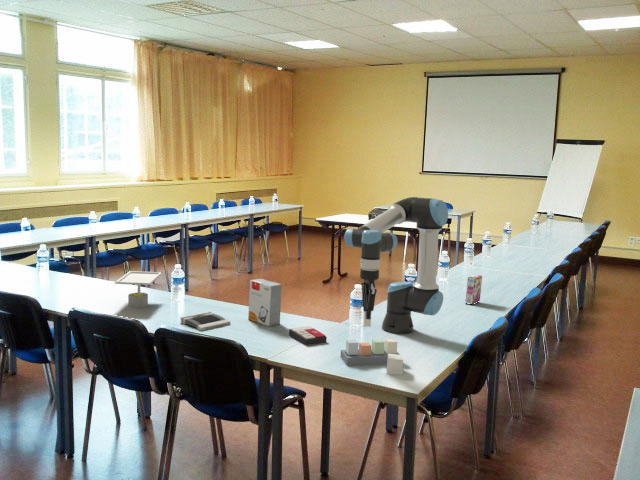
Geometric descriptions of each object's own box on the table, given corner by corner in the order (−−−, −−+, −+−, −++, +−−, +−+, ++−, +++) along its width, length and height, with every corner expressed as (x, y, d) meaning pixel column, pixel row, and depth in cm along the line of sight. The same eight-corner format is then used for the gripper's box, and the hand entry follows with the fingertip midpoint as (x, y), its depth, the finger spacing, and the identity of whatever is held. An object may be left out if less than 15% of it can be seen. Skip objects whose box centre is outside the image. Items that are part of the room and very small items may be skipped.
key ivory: (393, 350, 250) (394, 338, 249) (396, 353, 246) (397, 341, 245) (384, 350, 249) (385, 339, 248) (387, 354, 245) (388, 342, 245)
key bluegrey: (355, 351, 246) (355, 339, 246) (357, 354, 243) (358, 342, 242) (345, 351, 246) (346, 339, 245) (348, 355, 242) (348, 343, 241)
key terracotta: (367, 354, 248) (368, 342, 247) (370, 357, 244) (371, 345, 243) (358, 354, 247) (359, 342, 246) (361, 357, 243) (361, 345, 242)
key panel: (393, 355, 254) (393, 348, 253) (401, 363, 244) (402, 356, 244) (340, 356, 249) (340, 349, 248) (346, 365, 239) (347, 358, 239)
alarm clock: (209, 311, 298) (230, 315, 287) (210, 320, 298) (231, 325, 287) (180, 317, 285) (201, 322, 274) (180, 326, 285) (201, 332, 274)
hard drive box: (247, 319, 297) (248, 280, 294) (259, 317, 302) (260, 278, 300) (268, 326, 286) (270, 285, 284) (280, 324, 292) (282, 283, 289)
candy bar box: (473, 305, 348) (475, 277, 346) (464, 304, 351) (467, 276, 348) (480, 302, 357) (482, 275, 355) (472, 301, 360) (474, 274, 358)
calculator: (306, 338, 261) (289, 327, 273) (305, 347, 262) (288, 336, 274) (327, 335, 267) (309, 324, 279) (326, 344, 267) (309, 333, 280)
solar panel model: (149, 312, 301) (149, 283, 298) (114, 311, 300) (114, 281, 298) (161, 299, 328) (161, 272, 326) (129, 298, 327) (129, 270, 325)
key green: (380, 350, 249) (381, 339, 248) (383, 354, 245) (384, 342, 244) (371, 351, 248) (372, 339, 247) (374, 354, 244) (375, 342, 243)
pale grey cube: (402, 375, 232) (403, 360, 231) (386, 373, 233) (387, 358, 232) (402, 369, 238) (403, 354, 237) (386, 368, 238) (387, 353, 238)
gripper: (356, 265, 246) (353, 321, 249) (365, 272, 233) (362, 331, 237) (373, 265, 247) (370, 321, 251) (383, 272, 235) (380, 330, 238)
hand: (366, 326), depth 244 cm, fingers closed
